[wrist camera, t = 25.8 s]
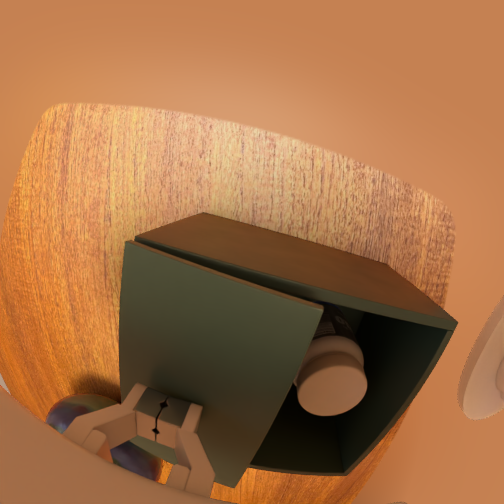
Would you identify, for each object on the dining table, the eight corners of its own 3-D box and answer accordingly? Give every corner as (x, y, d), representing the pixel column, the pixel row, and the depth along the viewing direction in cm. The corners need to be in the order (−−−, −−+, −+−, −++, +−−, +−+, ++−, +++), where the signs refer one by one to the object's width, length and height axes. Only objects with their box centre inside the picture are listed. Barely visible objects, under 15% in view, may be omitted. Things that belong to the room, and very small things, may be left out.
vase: (140, 375, 25) (78, 464, 12) (192, 457, 28) (167, 533, 15) (57, 372, 27) (2, 426, 14) (109, 445, 30) (76, 501, 17)
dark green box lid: (128, 435, 13) (125, 438, 12) (131, 239, 10) (124, 240, 9) (236, 484, 11) (234, 488, 11) (324, 305, 8) (323, 310, 8)
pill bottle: (351, 335, 21) (380, 402, 13) (300, 356, 22) (307, 429, 14) (334, 288, 20) (364, 347, 12) (278, 312, 21) (277, 380, 13)
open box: (176, 350, 23) (129, 430, 13) (202, 212, 20) (134, 235, 10) (329, 388, 23) (346, 476, 13) (386, 264, 20) (458, 322, 10)
